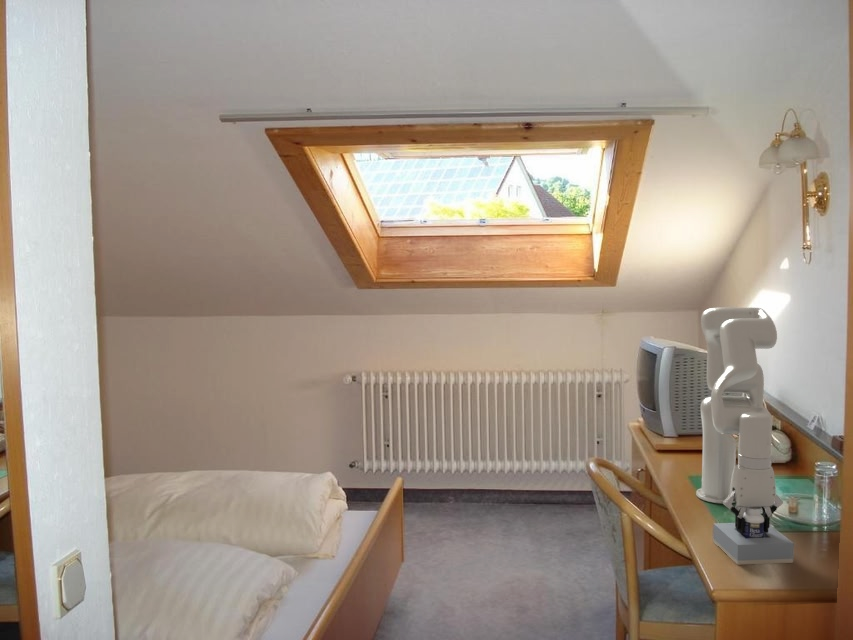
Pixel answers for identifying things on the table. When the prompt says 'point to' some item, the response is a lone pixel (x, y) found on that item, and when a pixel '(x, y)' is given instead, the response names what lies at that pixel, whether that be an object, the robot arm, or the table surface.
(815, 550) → the table surface
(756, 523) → the pill bottle
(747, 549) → the socket block
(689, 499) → the table surface
